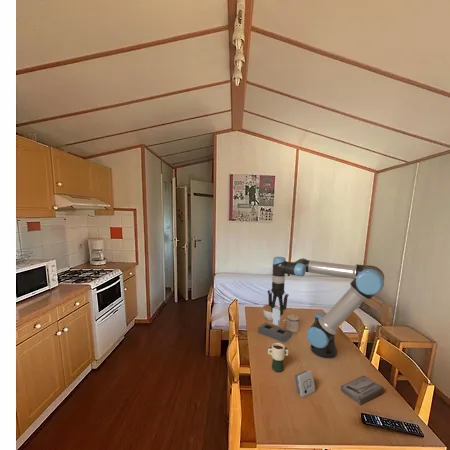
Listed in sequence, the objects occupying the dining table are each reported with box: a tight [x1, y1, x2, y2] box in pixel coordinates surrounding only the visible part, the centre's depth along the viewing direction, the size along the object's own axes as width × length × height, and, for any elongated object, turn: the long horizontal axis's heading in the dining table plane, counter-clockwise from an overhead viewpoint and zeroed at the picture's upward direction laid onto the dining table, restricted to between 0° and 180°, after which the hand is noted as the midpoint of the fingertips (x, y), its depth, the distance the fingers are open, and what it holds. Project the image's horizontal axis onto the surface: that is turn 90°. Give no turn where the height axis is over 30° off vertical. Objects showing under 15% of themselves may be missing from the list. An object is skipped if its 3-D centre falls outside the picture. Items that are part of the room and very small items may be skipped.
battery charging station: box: [257, 322, 292, 343], centre depth 178 cm, size 20×10×5 cm, turn 51°
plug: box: [272, 306, 282, 326], centre depth 160 cm, size 4×4×10 cm
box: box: [340, 375, 385, 406], centre depth 123 cm, size 11×17×3 cm, turn 117°
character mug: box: [267, 342, 289, 373], centre depth 140 cm, size 11×7×13 cm, turn 86°
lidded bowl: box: [262, 304, 279, 321], centre depth 204 cm, size 13×13×11 cm
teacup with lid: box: [281, 313, 300, 333], centre depth 186 cm, size 12×9×12 cm
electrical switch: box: [294, 370, 316, 398], centre depth 123 cm, size 9×5×9 cm, turn 121°
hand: (276, 318), depth 160 cm, fingers closed on plug, 3 cm apart
